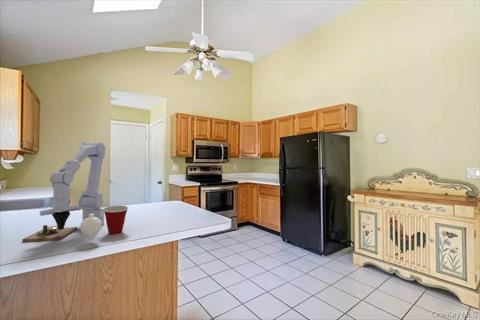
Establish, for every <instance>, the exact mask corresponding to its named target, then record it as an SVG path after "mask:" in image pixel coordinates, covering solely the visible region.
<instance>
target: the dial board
mask: <svg viewBox="0 0 480 320" xmlns="http://www.w3.org/2000/svg"><path fill="white" fill-rule="evenodd" d="M78 228H79V226H73V227H70V226H69V227H64V229H62V230H59V229H58V230H52V231H48V232H47V233H43V229H41V230H39V231H37V232H35V233H33V234H31V235H28V236H26V237H24V238H22V239H21V240H22V242H21V243H33V242H50V241H62V240H63V239H65V238H67V237H68V236H69V235H71V234H73V233H74V232H76V231H77V230H78Z"/></svg>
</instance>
